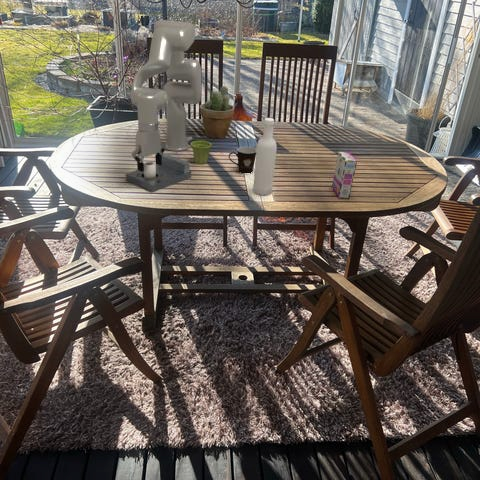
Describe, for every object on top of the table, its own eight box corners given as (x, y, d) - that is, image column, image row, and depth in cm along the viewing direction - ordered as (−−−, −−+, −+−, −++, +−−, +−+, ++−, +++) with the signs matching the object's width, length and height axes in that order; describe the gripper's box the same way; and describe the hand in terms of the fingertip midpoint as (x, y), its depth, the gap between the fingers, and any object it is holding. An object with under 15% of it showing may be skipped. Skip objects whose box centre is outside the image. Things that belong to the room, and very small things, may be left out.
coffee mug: (257, 169, 209) (259, 148, 204) (251, 176, 202) (253, 154, 197) (233, 165, 212) (234, 144, 207) (226, 171, 205) (228, 150, 200)
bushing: (150, 179, 192) (150, 160, 188) (158, 182, 189) (158, 164, 185) (141, 182, 188) (141, 163, 184) (149, 185, 186) (149, 167, 182)
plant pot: (214, 161, 215) (215, 143, 211) (204, 167, 207) (205, 148, 203) (197, 157, 218) (197, 139, 214) (186, 162, 211) (187, 144, 206)
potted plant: (232, 141, 241) (235, 93, 229) (197, 139, 241) (198, 90, 229) (233, 131, 257) (235, 85, 245) (200, 129, 257) (201, 83, 244)
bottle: (266, 197, 183) (273, 123, 168) (249, 192, 187) (255, 119, 172) (275, 190, 189) (283, 119, 174) (259, 186, 193) (265, 115, 178)
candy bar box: (350, 199, 187) (357, 161, 179) (338, 198, 187) (345, 160, 179) (342, 187, 197) (349, 151, 189) (331, 187, 197) (337, 151, 188)
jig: (165, 167, 204) (164, 152, 200) (191, 177, 196) (191, 162, 192) (126, 180, 189) (125, 164, 185) (152, 192, 180) (151, 175, 177)
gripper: (158, 119, 185) (159, 159, 194) (124, 128, 173) (127, 170, 182) (171, 124, 181) (171, 164, 190) (137, 133, 169) (139, 176, 178)
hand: (149, 167), depth 186 cm, fingers open, 9 cm apart
